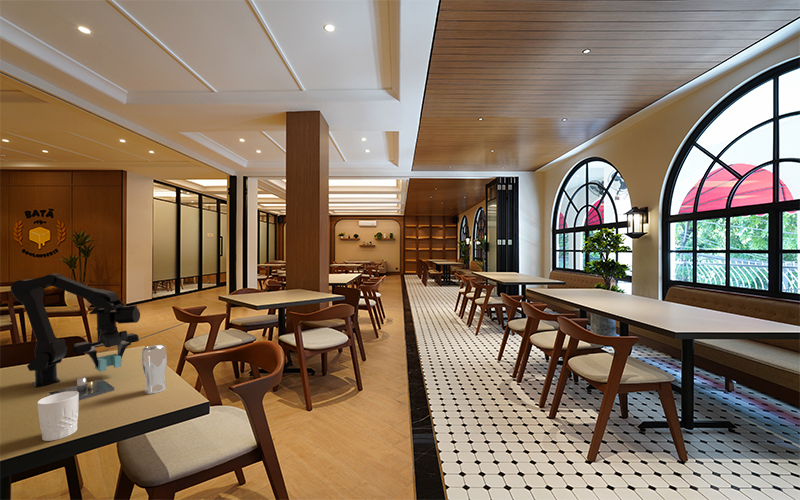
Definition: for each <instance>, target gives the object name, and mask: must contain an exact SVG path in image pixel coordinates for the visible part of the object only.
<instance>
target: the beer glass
mask: <svg viewBox="0 0 800 500" xmlns="http://www.w3.org/2000/svg"><path fill="white" fill-rule="evenodd" d="M166 348H167V347H166V344H156V345H149V346H145V347H143V348H142V350H141V351H142V352H141V353H142V354H141V363H142V364H141V365H142V370H143V374H144V379H145V388H144V394H146V395H153V394H154V395H155V394H159V393H161V392H163V391H165V390H166V389H167V384H166V381H165V375H166V369H167V359H168V355H167V349H166Z"/></svg>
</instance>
